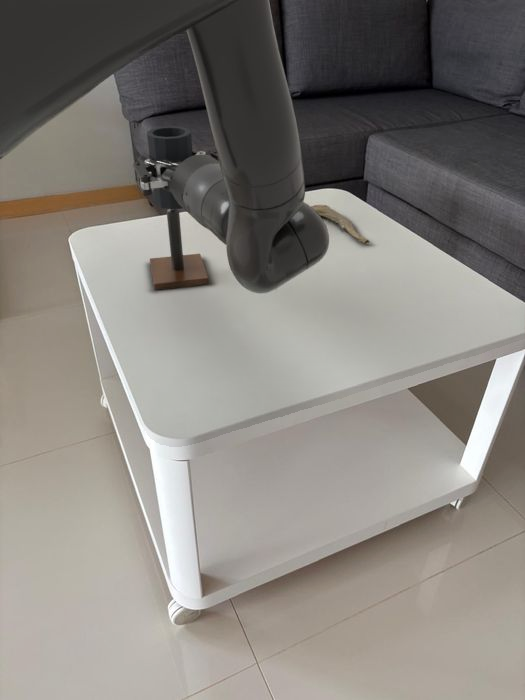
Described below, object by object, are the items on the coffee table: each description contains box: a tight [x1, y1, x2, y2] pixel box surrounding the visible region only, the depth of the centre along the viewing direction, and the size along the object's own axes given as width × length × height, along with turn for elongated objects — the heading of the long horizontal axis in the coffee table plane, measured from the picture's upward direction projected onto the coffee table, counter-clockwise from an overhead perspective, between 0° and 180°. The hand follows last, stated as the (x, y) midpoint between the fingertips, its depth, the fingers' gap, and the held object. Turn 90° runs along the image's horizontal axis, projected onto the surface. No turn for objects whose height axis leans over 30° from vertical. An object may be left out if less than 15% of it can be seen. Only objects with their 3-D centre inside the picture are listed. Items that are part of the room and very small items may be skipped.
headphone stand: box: [149, 209, 209, 291], centre depth 90 cm, size 9×9×12 cm
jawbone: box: [310, 204, 370, 244], centre depth 111 cm, size 9×20×2 cm, turn 48°
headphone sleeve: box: [146, 125, 193, 210], centre depth 78 cm, size 6×6×10 cm
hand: (165, 156), depth 79 cm, fingers closed on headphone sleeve, 6 cm apart
